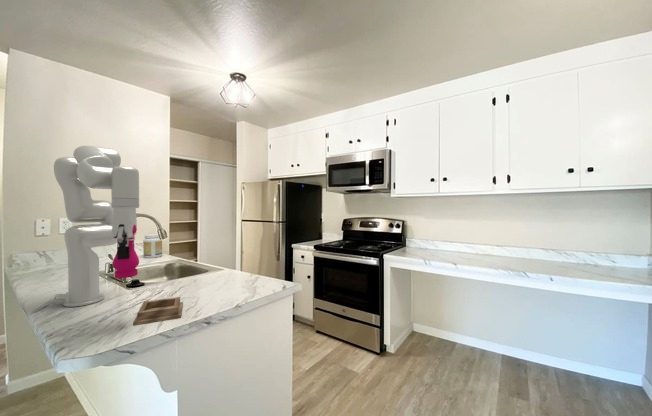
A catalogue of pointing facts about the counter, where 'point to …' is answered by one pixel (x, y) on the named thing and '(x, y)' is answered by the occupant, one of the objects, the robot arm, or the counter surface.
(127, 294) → the counter surface
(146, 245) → the supplement tub
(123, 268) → the pepper mill
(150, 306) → the wooden tray
